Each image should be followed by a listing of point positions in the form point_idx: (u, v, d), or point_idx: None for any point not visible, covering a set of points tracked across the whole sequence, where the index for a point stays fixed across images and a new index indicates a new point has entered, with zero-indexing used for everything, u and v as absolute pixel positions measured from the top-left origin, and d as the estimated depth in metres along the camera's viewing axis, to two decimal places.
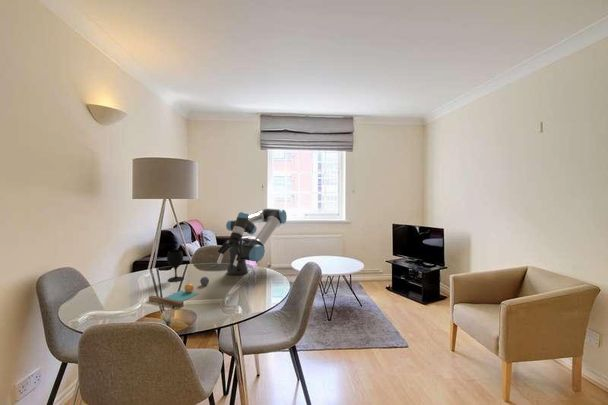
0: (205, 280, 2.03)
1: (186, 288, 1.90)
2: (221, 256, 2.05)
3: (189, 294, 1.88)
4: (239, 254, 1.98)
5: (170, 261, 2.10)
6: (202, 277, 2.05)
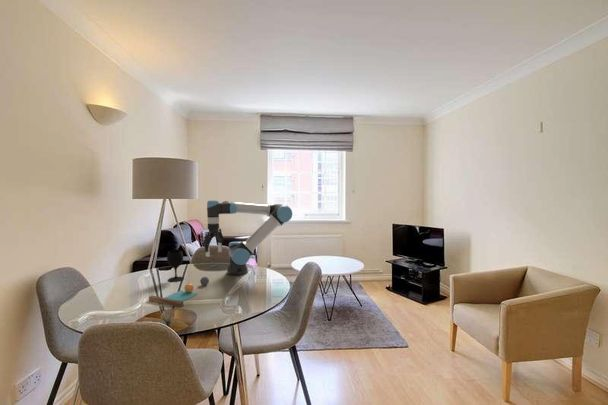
0: (205, 280, 2.03)
1: (186, 288, 1.90)
2: (219, 245, 2.18)
3: (189, 294, 1.88)
4: None
5: (170, 261, 2.10)
6: (202, 277, 2.05)
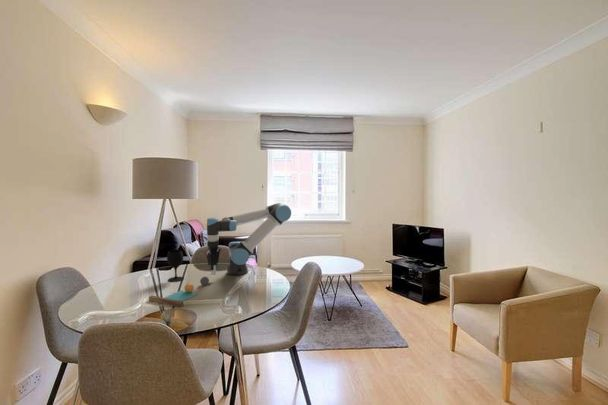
0: (205, 280, 2.03)
1: (186, 288, 1.90)
2: None
3: (189, 294, 1.88)
4: None
5: (170, 261, 2.10)
6: (202, 277, 2.05)
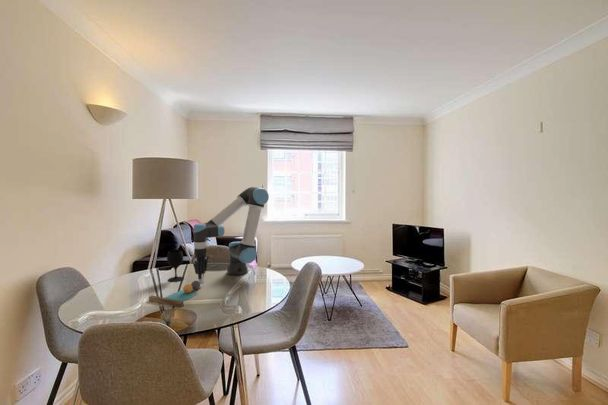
0: (198, 287, 1.98)
1: (185, 290, 1.89)
2: None
3: (189, 294, 1.88)
4: None
5: (170, 261, 2.10)
6: (193, 288, 1.97)
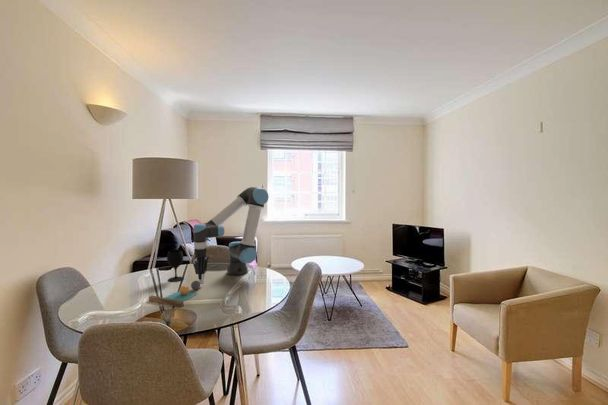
0: (198, 287, 1.98)
1: (183, 294, 1.88)
2: None
3: (189, 294, 1.88)
4: (198, 273, 2.00)
5: (170, 261, 2.10)
6: (193, 288, 1.97)
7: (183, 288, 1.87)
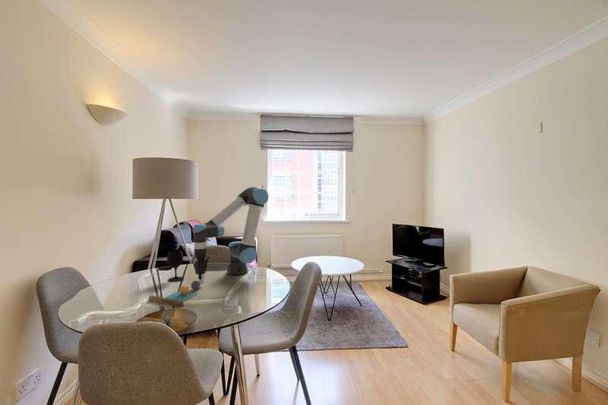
0: (198, 287, 1.98)
1: (183, 294, 1.88)
2: None
3: (189, 294, 1.88)
4: (198, 273, 2.00)
5: (170, 261, 2.10)
6: (193, 288, 1.97)
7: (183, 288, 1.87)
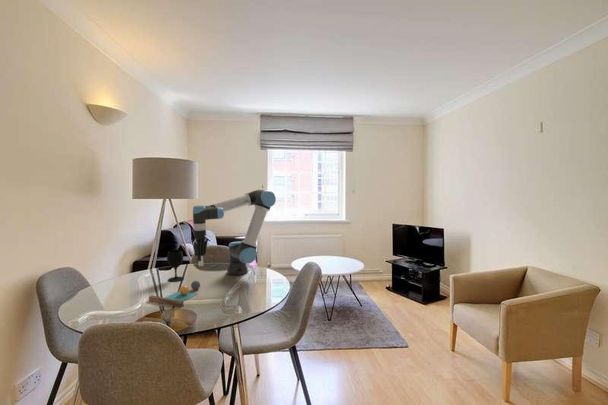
0: (198, 287, 1.98)
1: (183, 294, 1.88)
2: None
3: (189, 294, 1.88)
4: None
5: (170, 261, 2.10)
6: (193, 288, 1.97)
7: (183, 288, 1.87)
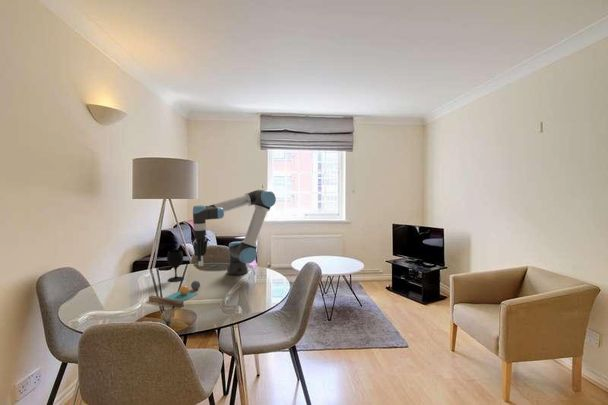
0: (198, 287, 1.98)
1: (183, 294, 1.88)
2: None
3: (189, 294, 1.88)
4: None
5: (170, 261, 2.10)
6: (193, 288, 1.97)
7: (183, 288, 1.87)
